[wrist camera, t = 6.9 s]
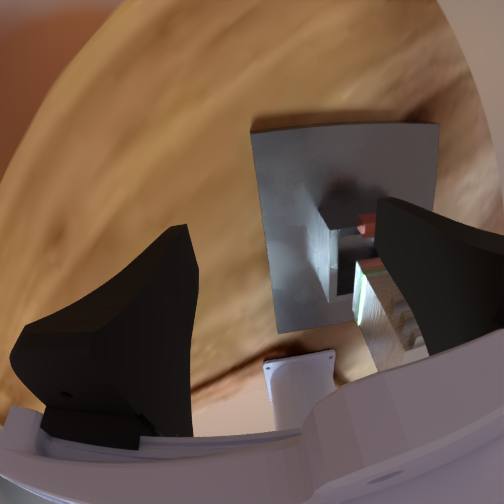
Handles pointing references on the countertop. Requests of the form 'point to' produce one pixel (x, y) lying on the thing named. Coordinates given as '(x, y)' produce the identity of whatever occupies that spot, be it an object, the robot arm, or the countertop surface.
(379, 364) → the grooved grey block
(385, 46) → the countertop surface
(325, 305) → the jack base
